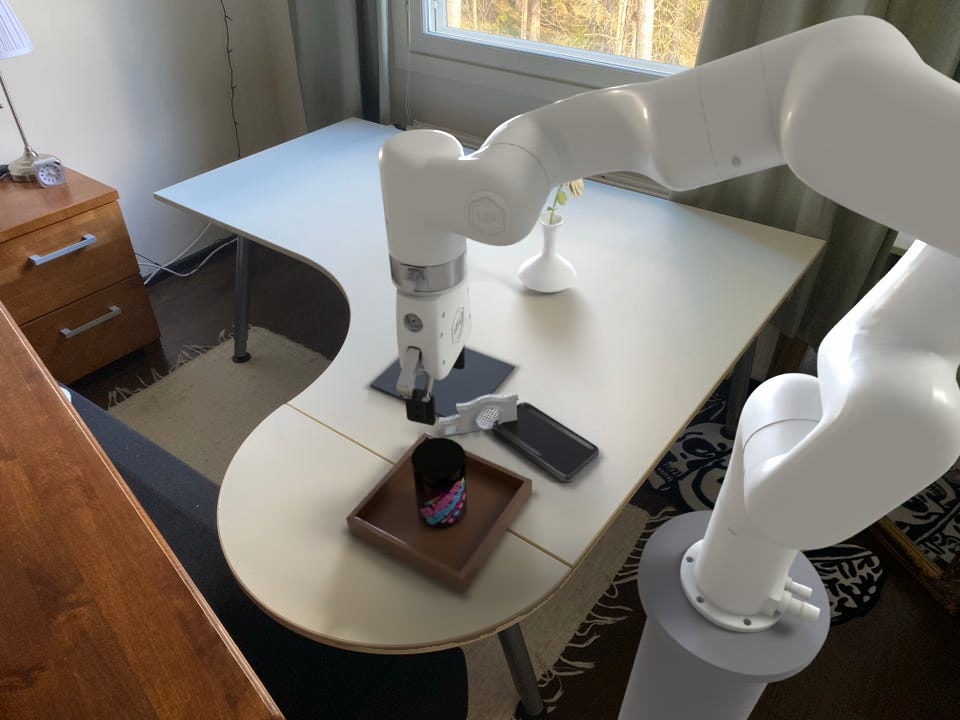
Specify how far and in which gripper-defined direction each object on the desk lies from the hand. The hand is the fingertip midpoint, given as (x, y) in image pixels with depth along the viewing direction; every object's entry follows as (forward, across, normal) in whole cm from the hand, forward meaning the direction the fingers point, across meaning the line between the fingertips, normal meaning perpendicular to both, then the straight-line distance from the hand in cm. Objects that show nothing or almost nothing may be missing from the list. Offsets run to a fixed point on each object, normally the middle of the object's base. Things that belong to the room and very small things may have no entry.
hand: (437, 392), depth 76 cm
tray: (+21, -1, 0) cm, 21 cm away
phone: (+21, +15, -10) cm, 28 cm away
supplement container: (+21, -1, 0) cm, 21 cm away
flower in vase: (+21, +59, -1) cm, 62 cm away
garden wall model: (+21, +16, 0) cm, 26 cm away
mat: (+21, +25, +9) cm, 34 cm away
